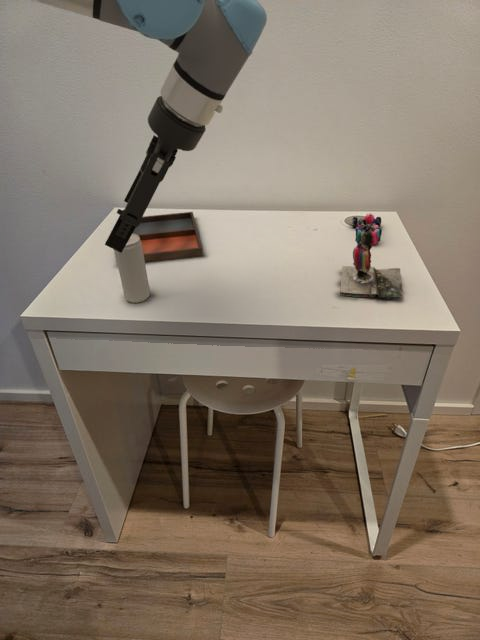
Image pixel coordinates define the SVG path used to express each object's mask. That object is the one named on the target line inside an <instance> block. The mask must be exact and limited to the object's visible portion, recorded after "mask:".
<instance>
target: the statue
mask: <svg viewBox="0 0 480 640" xmlns="http://www.w3.org/2000/svg"><path fill="white" fill-rule="evenodd" d="M364 218H365V221H366V223H367V224H366V225H364V224H362V225H357V227H355V240H354V241H355V242H356V244H357V245H356V246H354V248H353V250H352V260H353V264H352V265H353V266H350V265H342V267H341V279H340V289H339V296H340V297H342V296H344V297H353V298H357V297H360V298H375V297H376V295H377V297H378V300H379V301H382V300H389V299H392V298H397V299H399V298H403V297H404V293H403V284H402V274H401V268H399V267H396V268H395V267H393V268H379V269H377V268H376V267H375V266H372V260H371V259H372V253H371V250H372V248H373V246H375V245H377V244H378V243H380V242H381V235H382V233H383V230H382V228H380V227H379V226H377V225H376V224H375V223H373V221H374V219H375V215H374V214H373V213H372V212H369V213H367V214H366V215H365V216H364ZM372 223H373V224H372ZM371 224H372V226H371Z"/></svg>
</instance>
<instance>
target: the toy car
mask: <svg viewBox="0 0 480 640" xmlns="http://www.w3.org/2000/svg"><path fill="white" fill-rule="evenodd" d="M351 220H352V221H351V227H352V228H356V227H358V225H362V224H364V225H366V224H367V223H366V221H365V217H364V218H359V220H358V216H353V217H352V219H351ZM373 223H375V224H376V225H377V226H379V228H380V227H381V224H382V217H381V216H376V217H375V218H374V221H373ZM373 223H372V224H373ZM372 224H371V226H372Z"/></svg>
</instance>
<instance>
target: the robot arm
mask: <svg viewBox="0 0 480 640" xmlns="http://www.w3.org/2000/svg"><path fill="white" fill-rule="evenodd" d="M32 1H33V2H37V3H39V4H44V5H47V6H50V7H53V8H58V9H61V10H64V11H68V12H71V13H74V14H78V15H82V16H85V17H88V18H91V19H95V20H99V22H104V23H106V24H110V25H114V26H117V27H120V28H124V29H127V30H130V31H133V32H137V33H139V34H140V35H142V36H143V37H146V38H148V39H153V40H157V41H159V42H160V43H162V44H164V45H166V46H167V47H168V48H169V49H171V50H172V51H174V52H176V53H178V54H177V57H176V59H175V61H174V62H173V63H172V66H171V68H170V70H169V72H168V73H167V76H166V78H165V80H164V82H163V84H162V87H160V91H159V92H160V95H159V96H158V97H157V98H156V99H155V102H154V104H153V106H152V108H151V110H150V112H149V114H148V116H147V124H148V126H149V129H150V130H151V131H152V132H153V136H152V138H151V140H150V142H149V145H148V147H147V150H146V151H145V157H144V160H143V161H142V164H141V166H140V168H139V170H138V173H137V175H136V177H135V178H134V180H133V182H132V184H131V186H130V188H129V190H128V192H127V193H126V196H125V198H124V199H123V202H124V203H126V205H125V208H124V209H121V208H117V211H116V214H118V218H117V219H116V222H115V224H114V225H113V228H112V230H111V231H110V233H109V235H108V237H107V239H106V241H105V243H104V246H107V247H109V248H111V249H113V251H114V250H116V251H118V252H120V253H122V251H123V249H124V247H125V246H126V244H127V242H128V240H129V239H130V237H131V235H132V233H133V231H134V230H135V228H136V227H138V225H139V224H140V221H141V219H142V217H144V215H145V214H146V210H147V209H148V207H149V205H150V203H151V201H152V199H153V197H154V195H155V193H156V191H157V189H158V187H159V185H160V183H162V182H163V180H164V179H165V177H166V175H167V173H168V171H169V168H171V167H172V166H173V164H174V162H175V160H176V158H177V157H176V155H177V153H178V151H179V150H180V151H183V152H192V151H194V150H195V149H196V147H198V144H199V143H200V141H201V139H202V137H203V136H204V134H205V132H206V126H207V125H209V124H210V123H211V121H212V119H213V118H214V116H215V113H216V112H217V113H219V114H221V113H222V112H223V106H222V105H221V104H222V102H223V100H224V99H225V97H226V95H227V94H228V92H229V90H230V88H231V87H232V85H233V84H234V82H235V80H236V78H237V77H238V75H239V74H240V73H241V70H242V69H243V67H244V66H245V64H246V62H247V61H248V59H249V58H250V56H252V54H253V50H254V49H255V47H256V45H257V44H258V41H259V39H260V37H261V35H262V33H263V31H264V29H265V27H266V25H267V21H268V18H267V16H268V15H267V12H266V9H265V8H264V6H263V5H262V4H261V3H260V2H259V1H258V0H32ZM154 134H155V135H154Z"/></svg>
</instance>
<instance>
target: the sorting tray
mask: <svg viewBox="0 0 480 640" xmlns="http://www.w3.org/2000/svg"><path fill="white" fill-rule="evenodd" d="M132 234H137V235H138V236H139V237H140V240H141V243H142V249H143V255H144V260H145V263H152V262H153V263H154V262H163V261H172V260H178V259H179V260H180V259H189V258H197V257H198V258H199V257H204V253H203V252H204V251H203V246H202V242H201V238H200V234H199V231H198V227H197V223H196V218H195V215H194V212H193V211H187V212H186V211H185V212H177V213H176V212H175V213H166V214H155V215H145V216H144V215H143V217H142V219H141V221H140V224H139V225H138V227H136V228H135V230H134V231H133V233H132Z"/></svg>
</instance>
